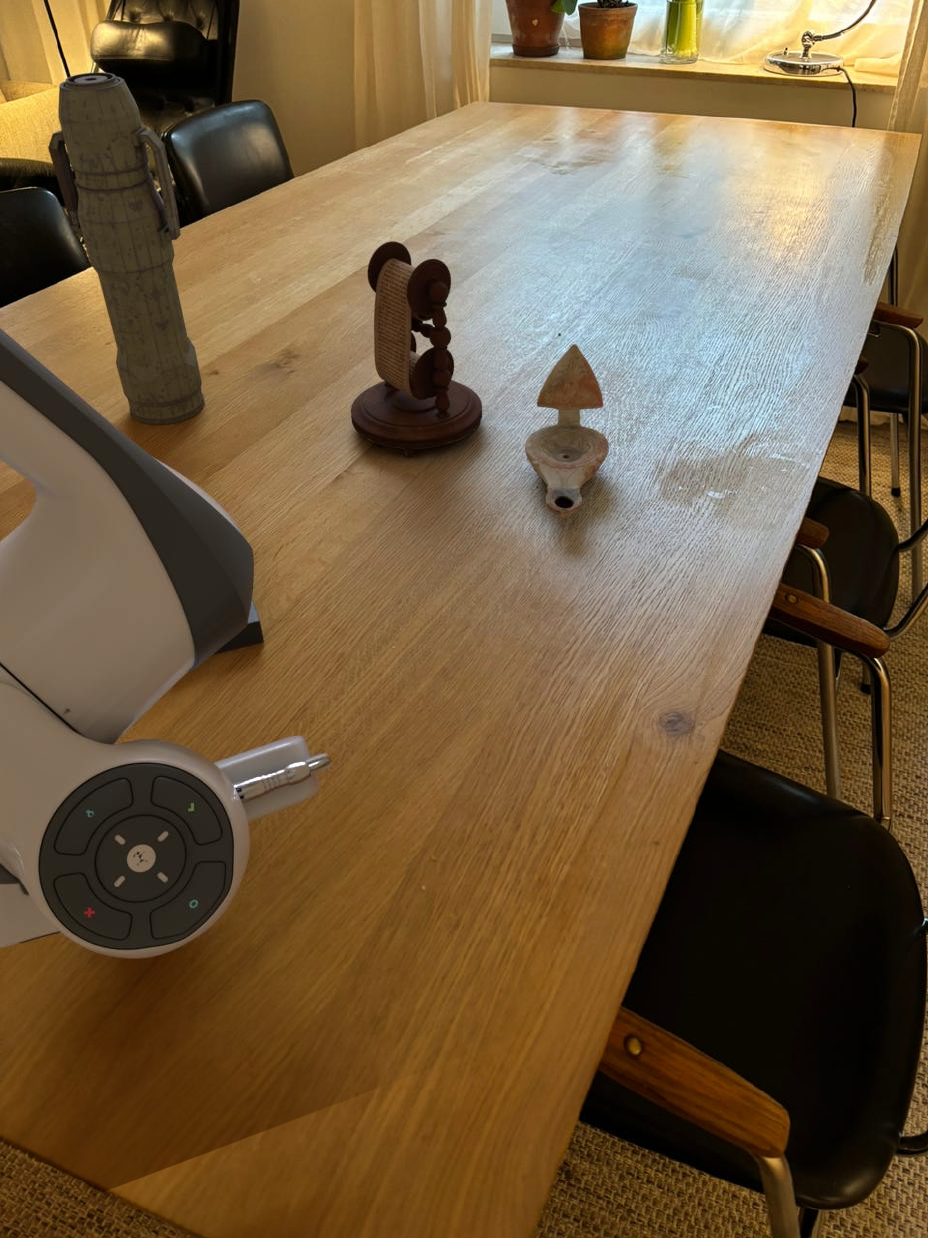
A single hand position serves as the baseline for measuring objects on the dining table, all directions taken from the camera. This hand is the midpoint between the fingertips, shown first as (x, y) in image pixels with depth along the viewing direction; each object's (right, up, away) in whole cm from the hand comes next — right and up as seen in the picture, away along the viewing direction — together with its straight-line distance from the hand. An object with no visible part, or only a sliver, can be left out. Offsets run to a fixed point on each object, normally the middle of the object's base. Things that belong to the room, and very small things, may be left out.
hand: (149, 812), depth 64 cm
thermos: (-15, +38, +53) cm, 67 cm away
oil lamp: (+31, +27, +40) cm, 58 cm away
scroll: (+15, +34, +49) cm, 61 cm away
